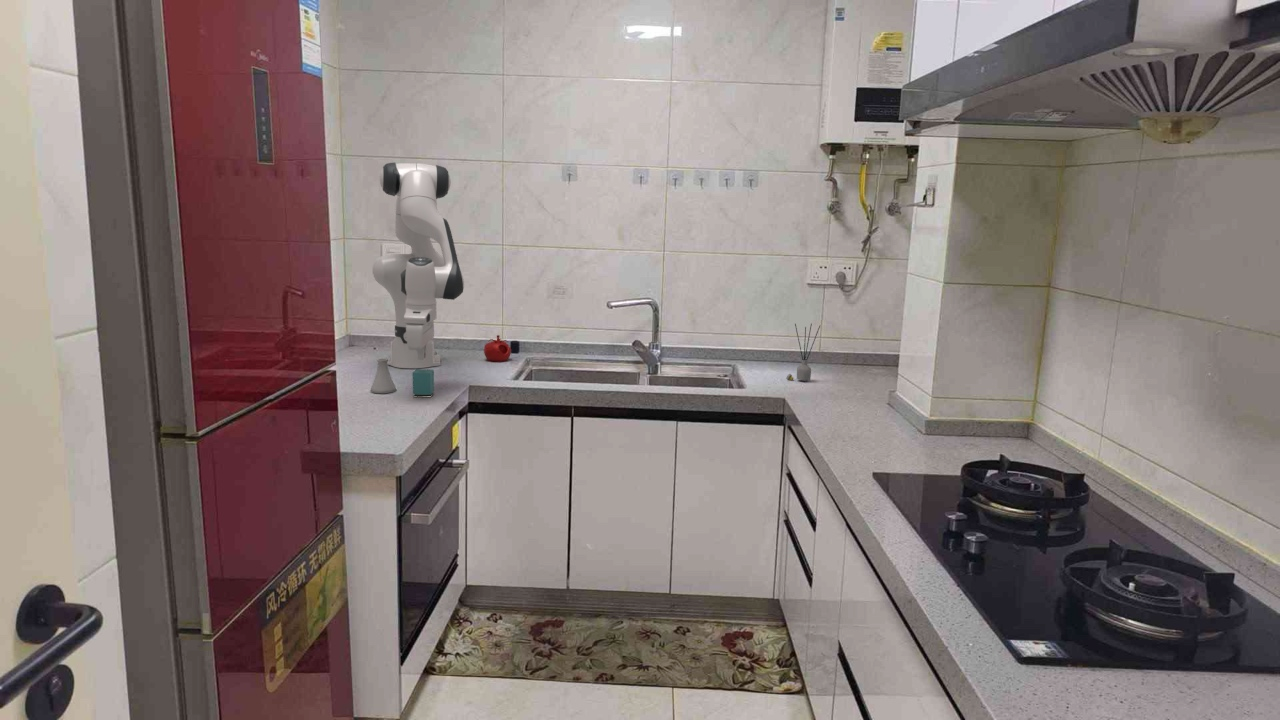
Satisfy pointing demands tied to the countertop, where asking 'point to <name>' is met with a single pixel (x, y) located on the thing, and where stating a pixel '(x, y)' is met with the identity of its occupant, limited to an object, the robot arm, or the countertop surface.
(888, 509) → the countertop surface
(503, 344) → the hollow red tomato
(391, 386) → the flask
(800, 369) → the reed diffuser
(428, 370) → the teal upright block
